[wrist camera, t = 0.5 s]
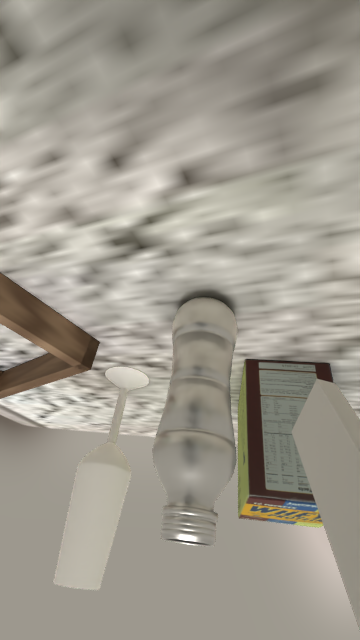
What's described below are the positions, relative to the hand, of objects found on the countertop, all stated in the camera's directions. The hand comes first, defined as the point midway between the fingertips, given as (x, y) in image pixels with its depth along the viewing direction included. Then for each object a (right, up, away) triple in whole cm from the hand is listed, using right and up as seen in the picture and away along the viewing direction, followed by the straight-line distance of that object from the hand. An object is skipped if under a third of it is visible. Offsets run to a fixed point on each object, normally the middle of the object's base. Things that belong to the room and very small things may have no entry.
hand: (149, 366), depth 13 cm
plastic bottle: (+4, +3, +20) cm, 21 cm away
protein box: (+15, -8, +32) cm, 36 cm away
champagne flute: (-7, -7, +34) cm, 36 cm away
